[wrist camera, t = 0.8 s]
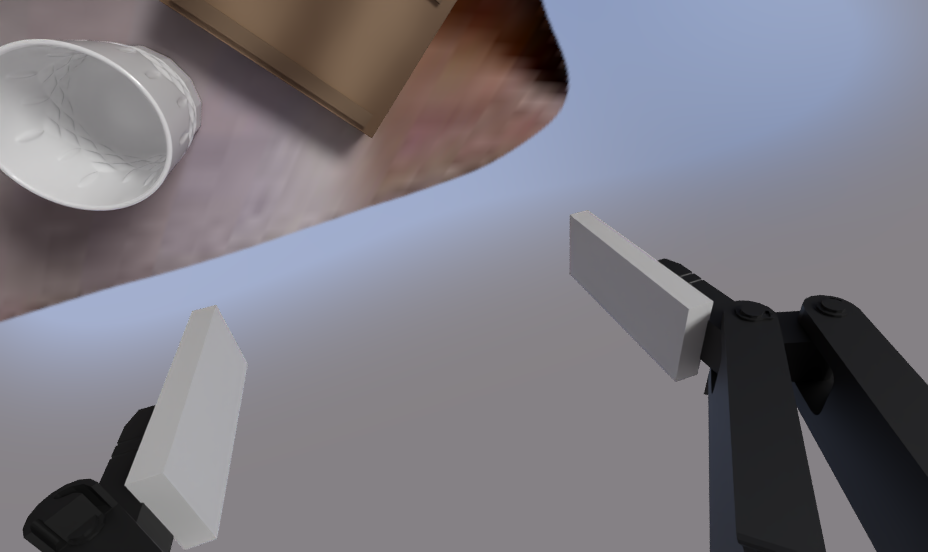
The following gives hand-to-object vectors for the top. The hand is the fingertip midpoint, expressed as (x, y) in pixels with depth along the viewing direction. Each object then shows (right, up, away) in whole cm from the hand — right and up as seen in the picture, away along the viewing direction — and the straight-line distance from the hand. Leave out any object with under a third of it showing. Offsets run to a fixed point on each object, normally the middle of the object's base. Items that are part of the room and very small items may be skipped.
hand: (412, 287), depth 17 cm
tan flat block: (-8, +19, +13) cm, 24 cm away
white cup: (-19, +12, +13) cm, 26 cm away
